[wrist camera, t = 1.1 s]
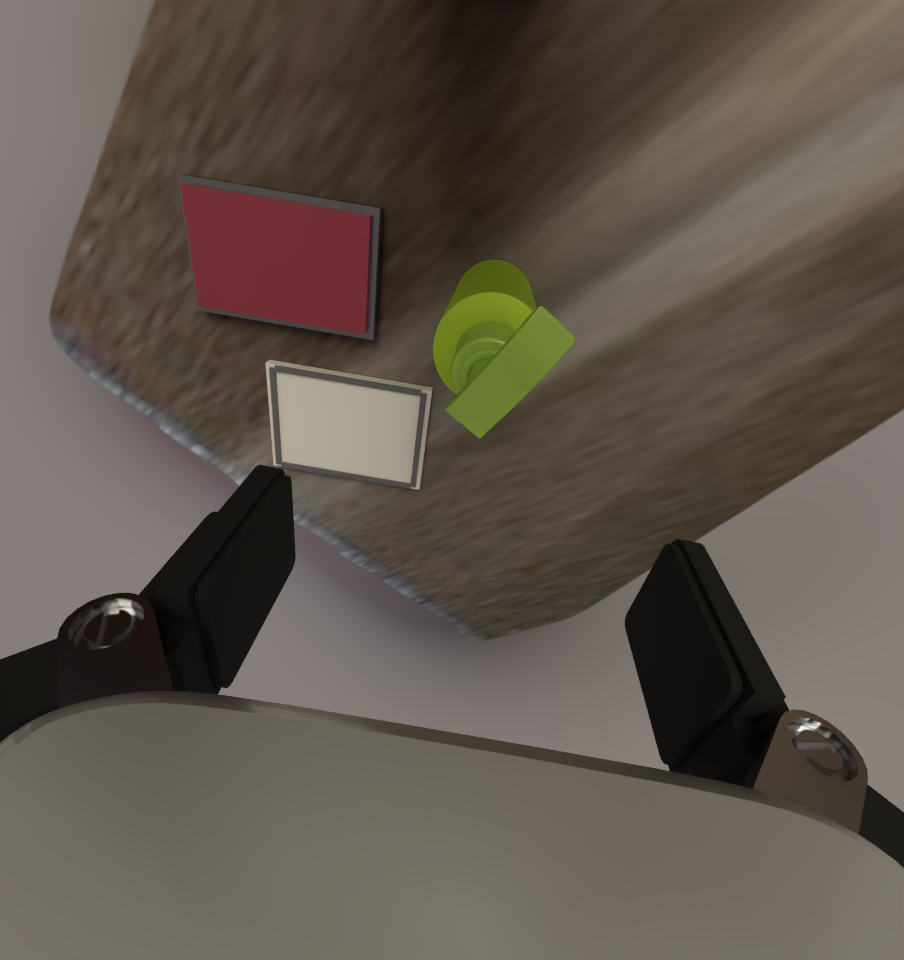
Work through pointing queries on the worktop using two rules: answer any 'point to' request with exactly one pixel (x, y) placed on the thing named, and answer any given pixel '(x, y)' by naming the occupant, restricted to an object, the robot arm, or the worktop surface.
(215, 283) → the ink pad
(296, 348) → the worktop surface
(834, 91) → the worktop surface
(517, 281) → the soap dispenser
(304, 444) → the marked card
